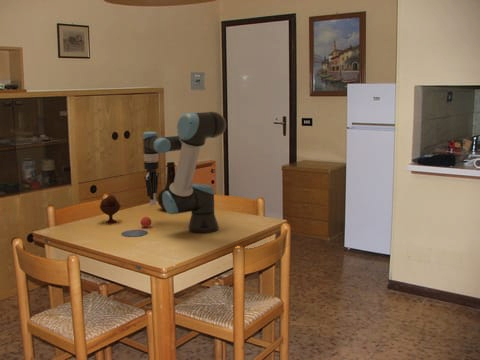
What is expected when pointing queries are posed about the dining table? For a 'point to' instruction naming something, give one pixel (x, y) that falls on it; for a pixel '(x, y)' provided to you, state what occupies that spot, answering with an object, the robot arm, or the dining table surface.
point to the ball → (145, 221)
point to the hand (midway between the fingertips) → (152, 205)
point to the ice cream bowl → (110, 207)
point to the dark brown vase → (170, 180)
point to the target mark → (134, 233)
